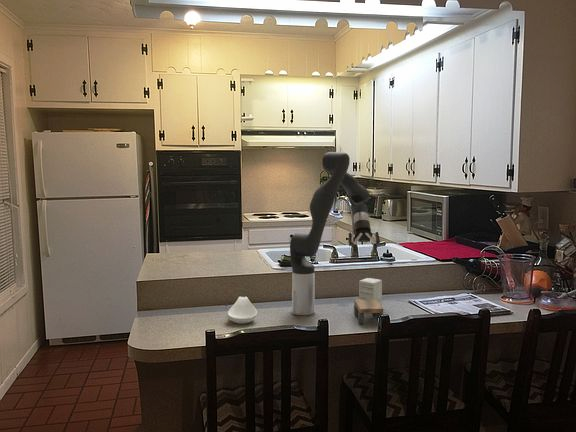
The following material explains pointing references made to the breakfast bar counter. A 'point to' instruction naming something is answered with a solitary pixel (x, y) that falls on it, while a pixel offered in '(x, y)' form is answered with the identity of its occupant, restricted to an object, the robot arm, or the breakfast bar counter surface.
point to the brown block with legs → (367, 308)
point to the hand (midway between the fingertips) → (365, 252)
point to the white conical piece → (242, 311)
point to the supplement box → (370, 289)
